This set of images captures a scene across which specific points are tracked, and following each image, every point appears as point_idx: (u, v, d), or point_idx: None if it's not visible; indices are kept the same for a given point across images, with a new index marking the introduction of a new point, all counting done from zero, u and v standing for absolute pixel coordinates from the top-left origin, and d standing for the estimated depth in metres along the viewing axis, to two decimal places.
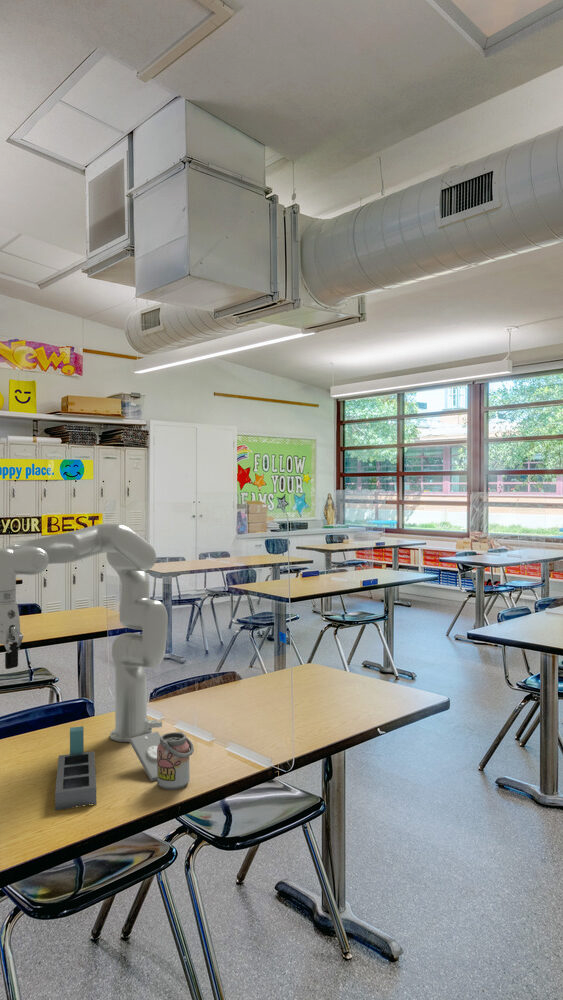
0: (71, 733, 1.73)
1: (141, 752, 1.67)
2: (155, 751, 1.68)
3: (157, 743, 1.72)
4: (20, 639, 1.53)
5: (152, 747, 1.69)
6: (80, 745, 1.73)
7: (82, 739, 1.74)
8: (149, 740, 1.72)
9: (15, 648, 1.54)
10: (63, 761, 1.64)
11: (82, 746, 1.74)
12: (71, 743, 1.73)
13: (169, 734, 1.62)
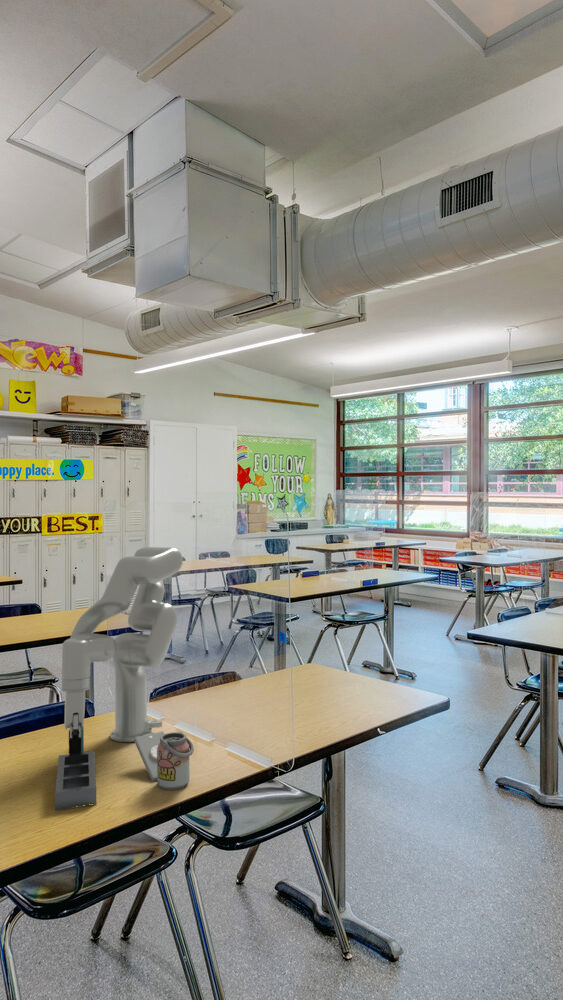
0: None
1: (145, 752, 1.68)
2: None
3: None
4: None
5: (155, 747, 1.69)
6: None
7: (82, 739, 1.74)
8: (153, 739, 1.72)
9: None
10: (63, 761, 1.64)
11: (82, 746, 1.74)
12: None
13: (169, 734, 1.62)
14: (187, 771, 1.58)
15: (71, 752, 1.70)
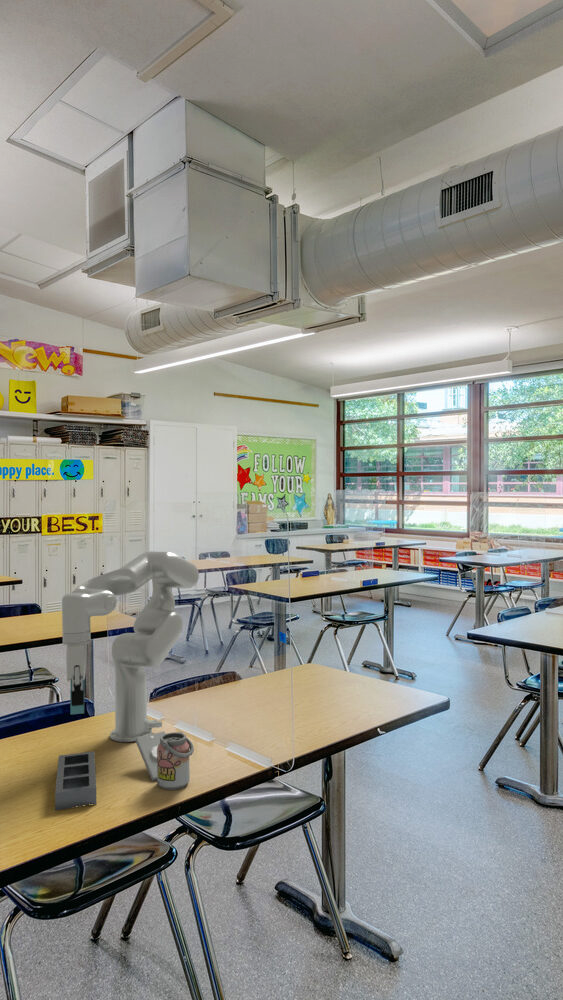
0: None
1: (145, 751, 1.68)
2: None
3: None
4: None
5: (156, 747, 1.69)
6: None
7: (83, 689, 1.74)
8: (154, 739, 1.72)
9: None
10: (63, 761, 1.64)
11: None
12: None
13: (169, 734, 1.62)
14: (187, 771, 1.58)
15: (74, 704, 1.73)
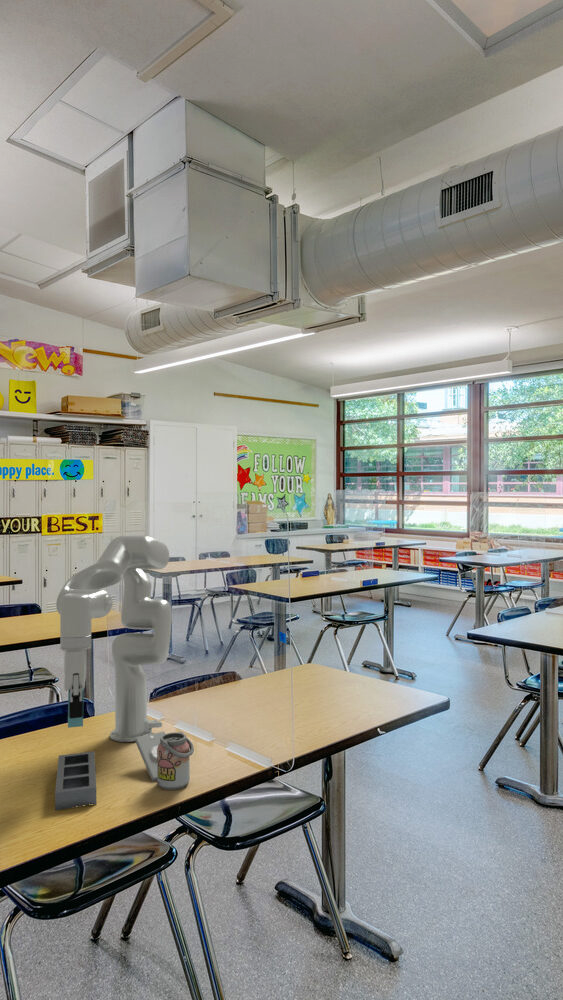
0: None
1: (145, 752, 1.68)
2: None
3: None
4: None
5: (156, 747, 1.69)
6: None
7: (82, 700, 1.58)
8: (154, 739, 1.72)
9: None
10: (63, 761, 1.64)
11: None
12: None
13: (169, 734, 1.62)
14: (187, 771, 1.58)
15: (72, 716, 1.56)
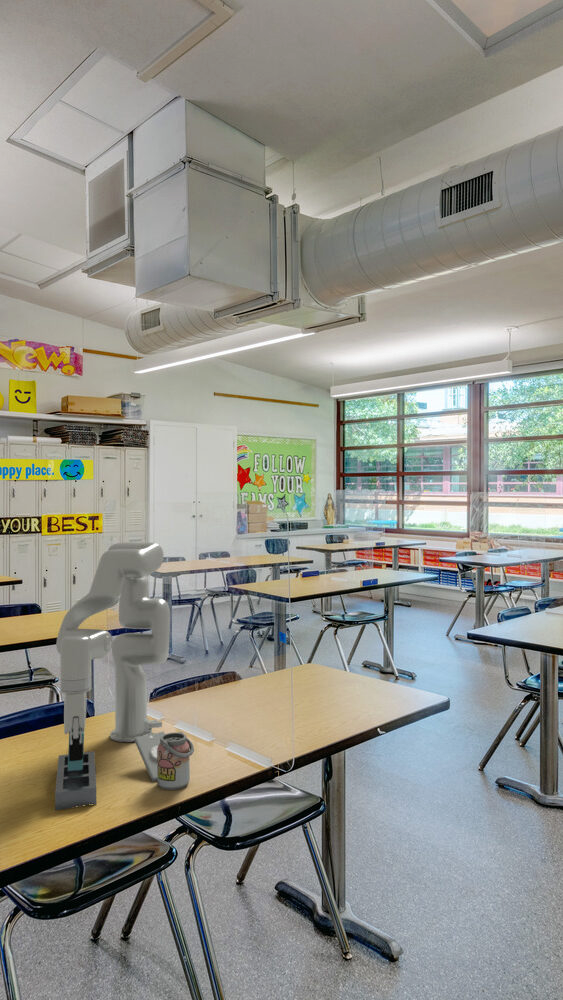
0: None
1: (145, 752, 1.68)
2: None
3: None
4: None
5: (156, 747, 1.69)
6: None
7: None
8: (154, 740, 1.72)
9: None
10: (63, 761, 1.64)
11: None
12: None
13: (169, 734, 1.62)
14: (187, 771, 1.58)
15: (72, 759, 1.56)
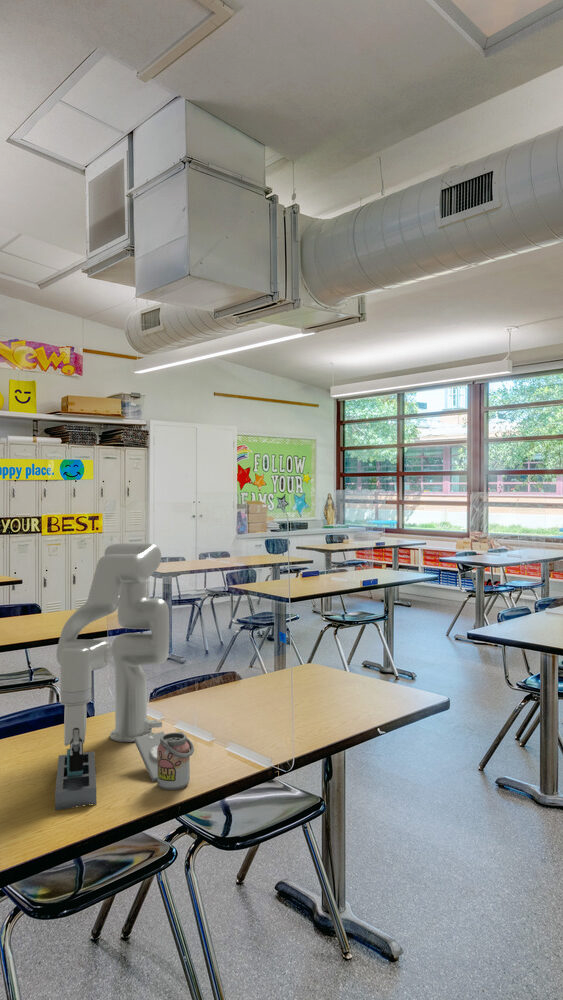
0: (68, 756, 1.57)
1: (145, 752, 1.67)
2: None
3: None
4: None
5: (156, 747, 1.69)
6: None
7: None
8: (154, 740, 1.72)
9: None
10: (63, 761, 1.64)
11: None
12: (68, 767, 1.57)
13: (169, 734, 1.62)
14: (187, 771, 1.58)
15: (72, 770, 1.54)
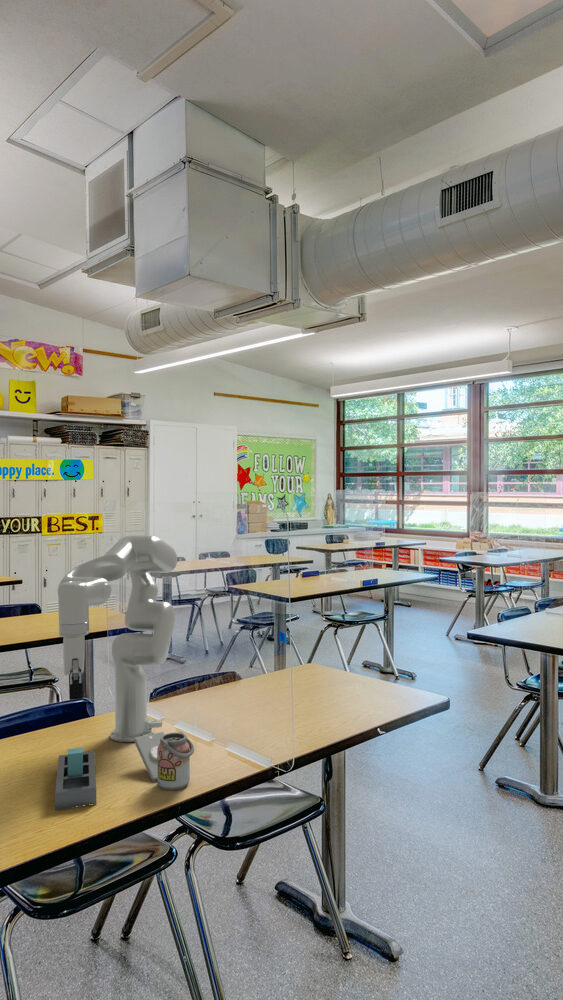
0: (69, 756, 1.57)
1: (145, 752, 1.67)
2: None
3: None
4: None
5: (156, 747, 1.69)
6: (79, 769, 1.57)
7: (81, 762, 1.57)
8: (153, 740, 1.72)
9: None
10: (63, 761, 1.64)
11: (81, 770, 1.57)
12: (69, 767, 1.57)
13: (169, 734, 1.62)
14: (187, 771, 1.58)
15: (72, 698, 1.60)
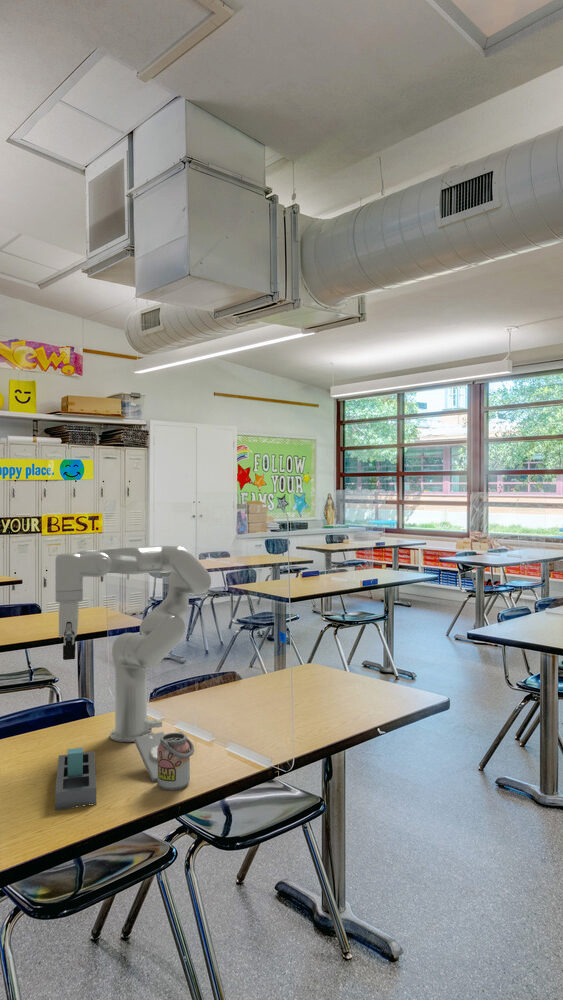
0: (69, 756, 1.57)
1: (145, 752, 1.67)
2: None
3: None
4: None
5: (156, 747, 1.69)
6: (79, 769, 1.57)
7: (81, 762, 1.57)
8: (153, 740, 1.72)
9: None
10: (63, 761, 1.64)
11: (81, 770, 1.57)
12: (69, 767, 1.57)
13: (169, 734, 1.62)
14: (187, 771, 1.58)
15: (65, 658, 1.75)
